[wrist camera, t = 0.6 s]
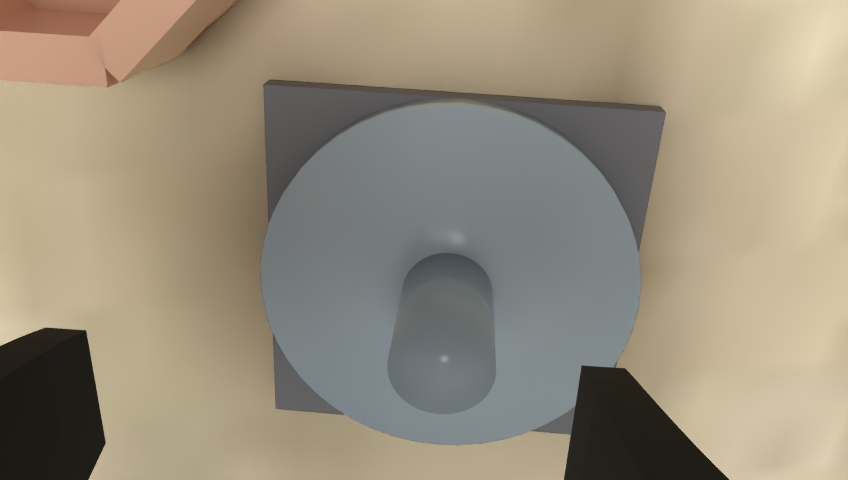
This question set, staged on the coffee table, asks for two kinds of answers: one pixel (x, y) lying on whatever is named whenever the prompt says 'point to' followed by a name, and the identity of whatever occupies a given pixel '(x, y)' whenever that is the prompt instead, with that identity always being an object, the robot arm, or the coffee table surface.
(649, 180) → the mat
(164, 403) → the coffee table surface
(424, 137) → the lid
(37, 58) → the bowl
